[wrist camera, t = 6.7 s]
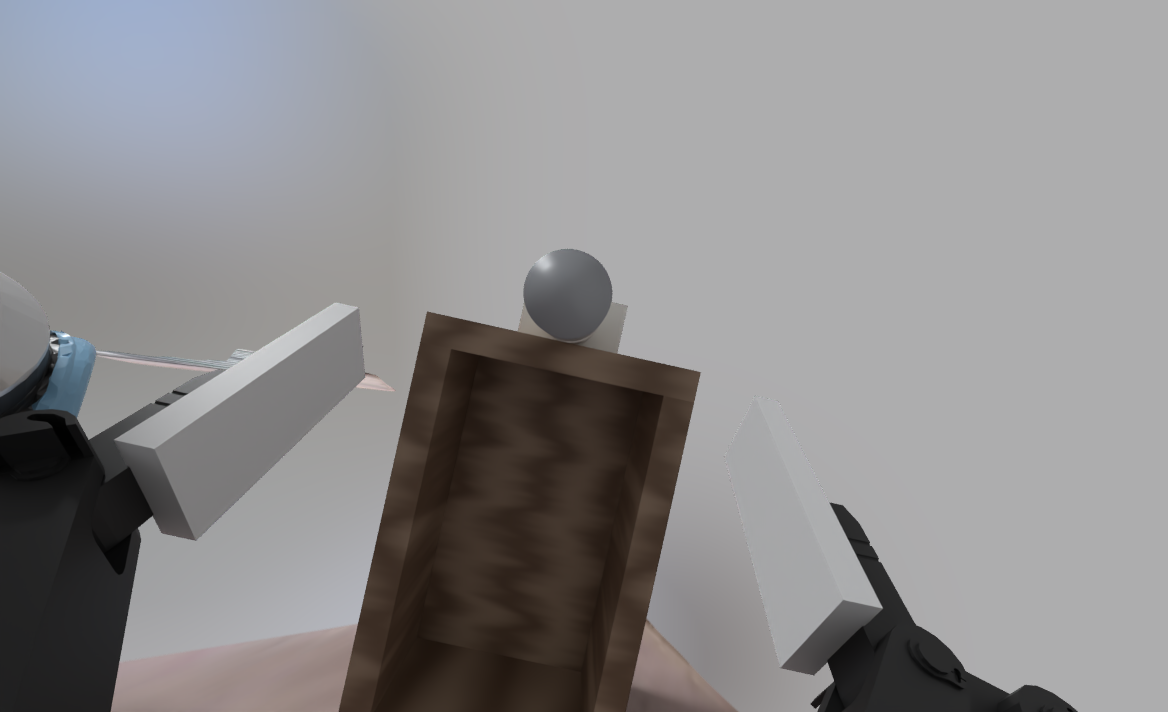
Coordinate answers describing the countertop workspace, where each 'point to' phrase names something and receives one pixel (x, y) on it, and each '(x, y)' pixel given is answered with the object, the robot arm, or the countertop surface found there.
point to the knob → (572, 302)
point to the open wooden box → (519, 526)
